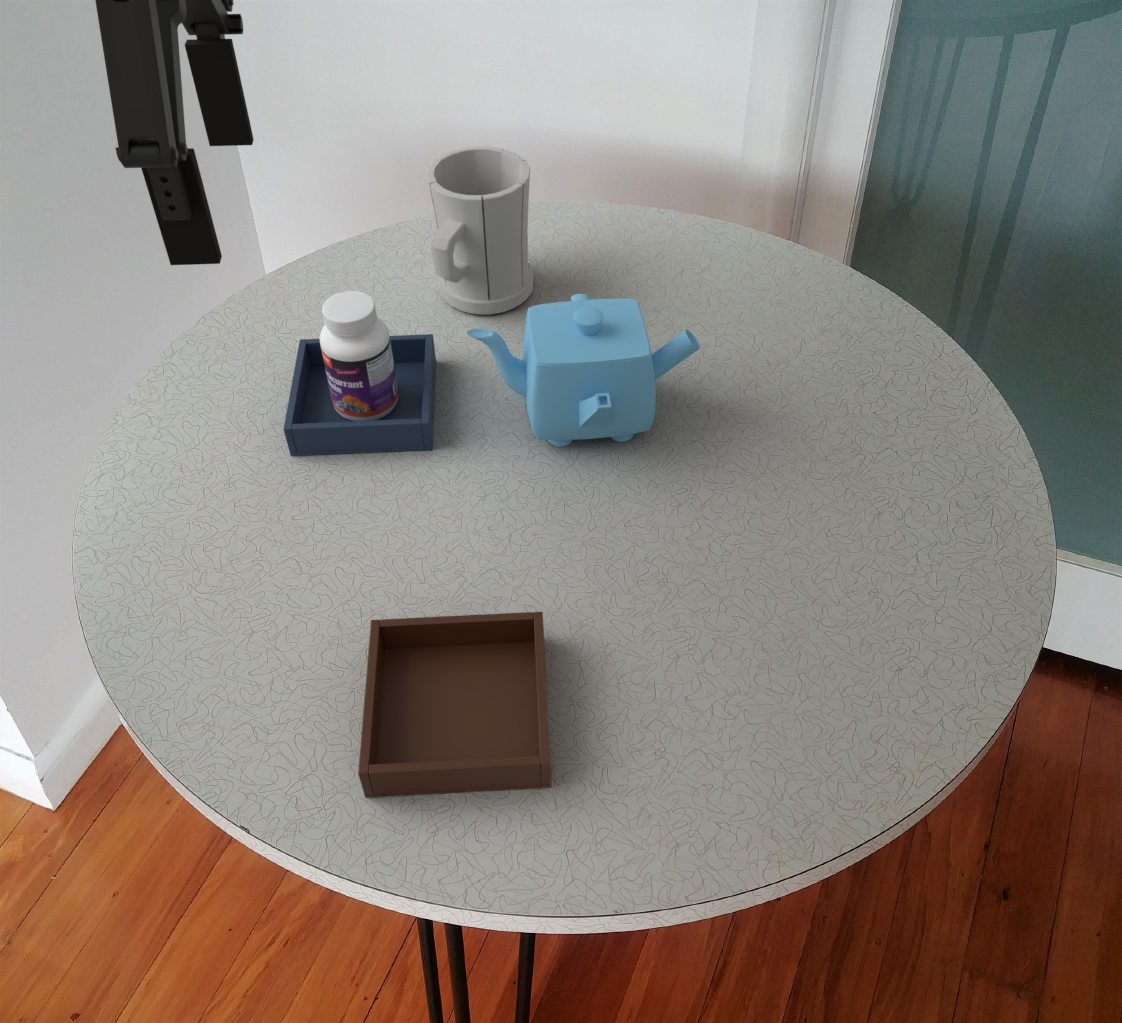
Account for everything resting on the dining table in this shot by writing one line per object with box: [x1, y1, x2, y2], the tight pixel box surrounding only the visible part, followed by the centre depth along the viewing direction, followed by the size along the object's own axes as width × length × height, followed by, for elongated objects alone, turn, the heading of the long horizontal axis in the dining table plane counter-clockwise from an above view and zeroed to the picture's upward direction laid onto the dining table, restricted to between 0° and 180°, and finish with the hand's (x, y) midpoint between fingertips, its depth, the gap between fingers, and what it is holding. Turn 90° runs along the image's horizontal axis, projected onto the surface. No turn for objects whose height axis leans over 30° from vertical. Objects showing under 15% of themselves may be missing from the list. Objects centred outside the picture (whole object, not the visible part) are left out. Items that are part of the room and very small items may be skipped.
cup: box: [425, 145, 534, 316], centre depth 94 cm, size 10×9×12 cm
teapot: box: [466, 293, 701, 448], centre depth 83 cm, size 18×14×10 cm
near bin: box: [357, 611, 552, 799], centre depth 66 cm, size 11×11×3 cm
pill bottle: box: [319, 290, 398, 421], centre depth 84 cm, size 5×5×10 cm
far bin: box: [283, 333, 437, 457], centre depth 87 cm, size 11×11×3 cm
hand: (215, 198), depth 64 cm, fingers open, 13 cm apart
